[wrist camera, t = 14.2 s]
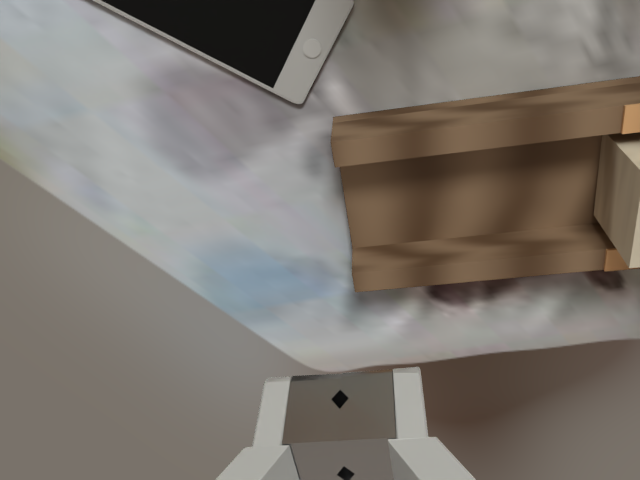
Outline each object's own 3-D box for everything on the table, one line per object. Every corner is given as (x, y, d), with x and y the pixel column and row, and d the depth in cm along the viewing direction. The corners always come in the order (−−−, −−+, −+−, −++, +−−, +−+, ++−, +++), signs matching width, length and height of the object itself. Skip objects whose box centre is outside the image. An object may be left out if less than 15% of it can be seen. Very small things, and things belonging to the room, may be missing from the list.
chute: (355, 258, 42) (354, 294, 39) (333, 117, 37) (330, 143, 33) (675, 226, 40) (706, 262, 36) (706, 67, 34) (747, 91, 30)
